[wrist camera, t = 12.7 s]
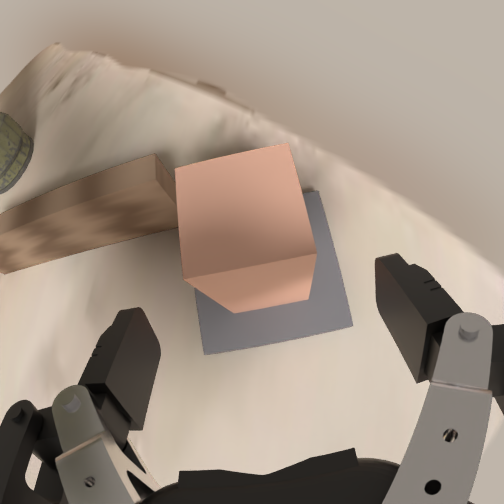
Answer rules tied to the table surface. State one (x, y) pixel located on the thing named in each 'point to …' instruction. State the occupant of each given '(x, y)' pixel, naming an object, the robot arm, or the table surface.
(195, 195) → the marked block
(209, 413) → the table surface
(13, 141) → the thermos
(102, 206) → the walnut screen
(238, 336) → the charcoal mat
